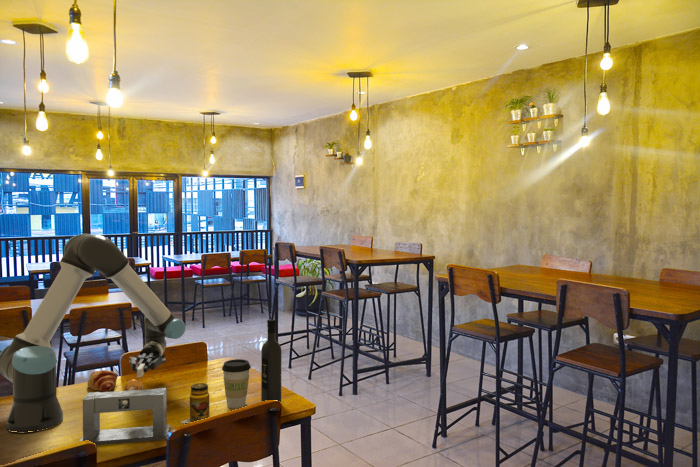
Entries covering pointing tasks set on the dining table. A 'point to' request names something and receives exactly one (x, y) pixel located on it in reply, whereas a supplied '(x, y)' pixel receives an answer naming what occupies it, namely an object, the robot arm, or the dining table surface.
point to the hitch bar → (111, 403)
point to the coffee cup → (236, 382)
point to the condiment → (198, 403)
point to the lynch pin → (130, 386)
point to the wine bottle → (271, 366)
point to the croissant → (102, 380)
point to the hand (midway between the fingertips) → (139, 373)
